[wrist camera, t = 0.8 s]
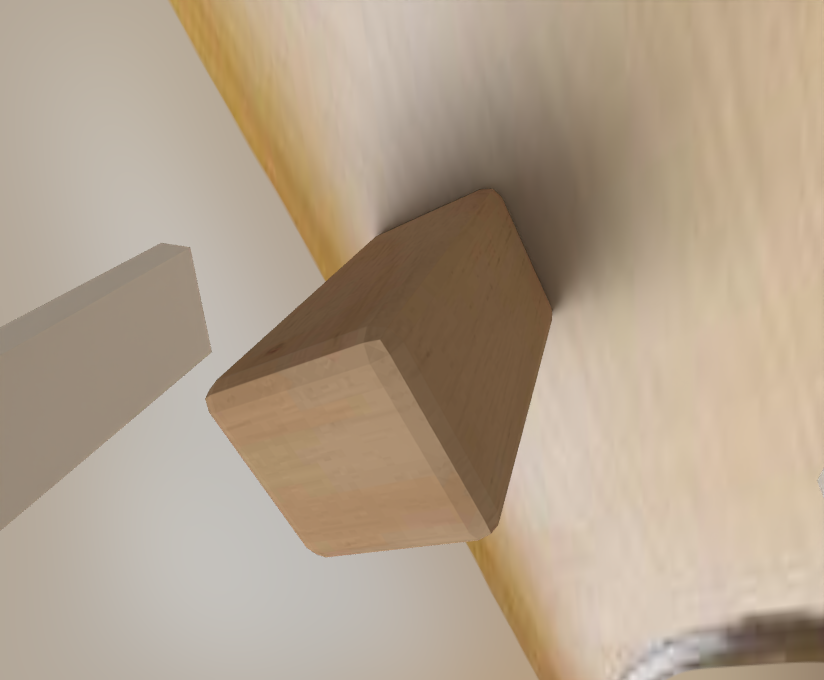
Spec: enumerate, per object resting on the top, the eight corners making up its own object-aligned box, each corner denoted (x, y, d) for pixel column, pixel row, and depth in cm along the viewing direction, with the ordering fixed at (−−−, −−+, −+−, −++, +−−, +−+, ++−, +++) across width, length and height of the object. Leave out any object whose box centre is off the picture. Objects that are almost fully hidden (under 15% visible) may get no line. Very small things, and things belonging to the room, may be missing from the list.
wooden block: (369, 236, 40) (186, 398, 24) (498, 178, 35) (379, 331, 19) (433, 354, 43) (310, 568, 27) (559, 315, 38) (503, 549, 22)
